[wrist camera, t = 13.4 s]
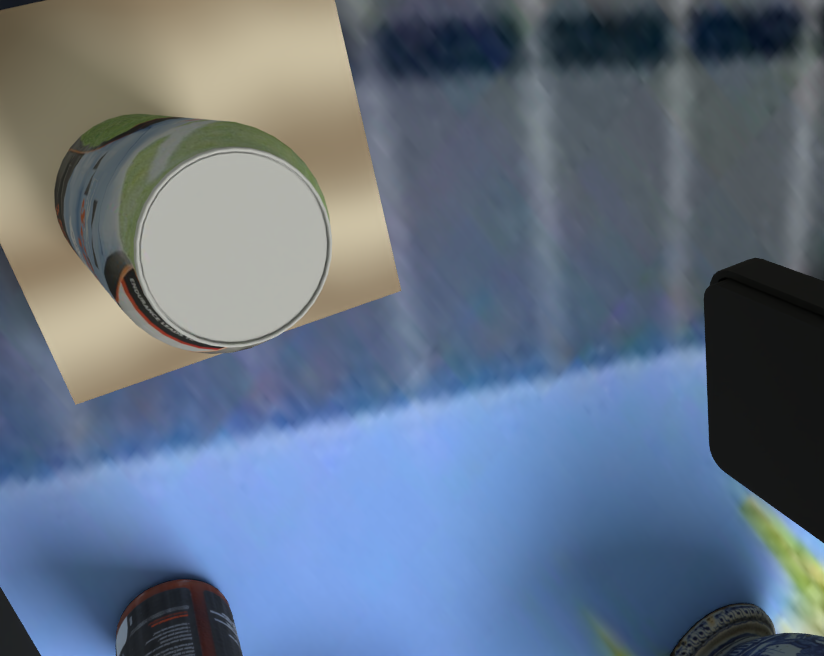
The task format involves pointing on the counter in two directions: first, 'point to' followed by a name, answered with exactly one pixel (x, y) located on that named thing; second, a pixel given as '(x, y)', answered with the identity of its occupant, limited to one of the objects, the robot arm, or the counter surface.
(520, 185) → the counter surface
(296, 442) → the counter surface
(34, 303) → the oak block
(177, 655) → the supplement bottle
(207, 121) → the beverage can
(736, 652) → the decorative vase
